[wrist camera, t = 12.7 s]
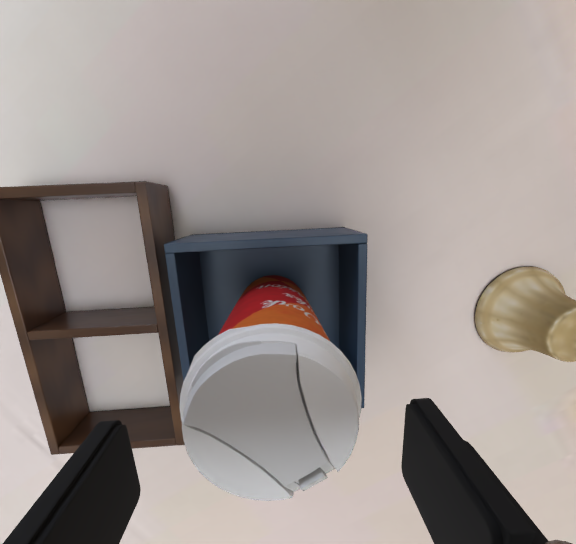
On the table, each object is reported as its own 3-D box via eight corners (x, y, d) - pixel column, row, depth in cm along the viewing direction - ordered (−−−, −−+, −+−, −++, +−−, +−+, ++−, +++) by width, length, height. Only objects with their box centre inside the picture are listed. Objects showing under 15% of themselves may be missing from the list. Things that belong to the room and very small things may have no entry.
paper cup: (333, 317, 25) (406, 451, 11) (261, 362, 26) (246, 540, 12) (285, 243, 23) (301, 294, 10) (208, 292, 24) (121, 408, 10)
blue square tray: (191, 234, 23) (163, 243, 17) (344, 227, 24) (367, 233, 18) (207, 372, 26) (188, 420, 20) (344, 363, 27) (364, 408, 21)
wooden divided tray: (28, 191, 22) (-25, 188, 18) (167, 185, 22) (145, 181, 18) (83, 418, 26) (50, 455, 23) (197, 410, 27) (185, 445, 23)
